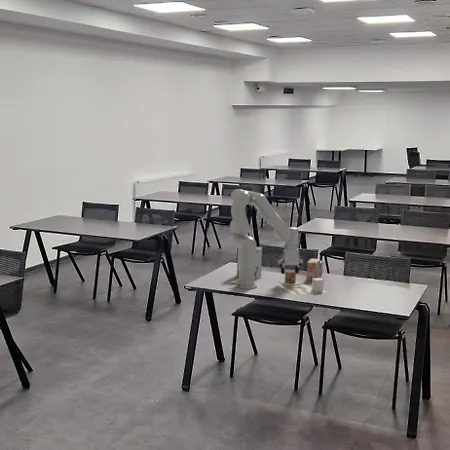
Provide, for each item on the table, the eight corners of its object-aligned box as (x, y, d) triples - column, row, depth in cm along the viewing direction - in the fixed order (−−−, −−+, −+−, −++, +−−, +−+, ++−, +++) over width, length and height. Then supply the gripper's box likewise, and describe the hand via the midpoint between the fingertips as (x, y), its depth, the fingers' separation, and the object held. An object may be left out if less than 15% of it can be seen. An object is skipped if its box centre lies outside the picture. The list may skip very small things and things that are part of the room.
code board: (294, 295, 363) (294, 294, 363) (280, 286, 382) (280, 286, 382) (327, 292, 371) (327, 292, 371) (311, 284, 389) (311, 283, 389)
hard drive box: (236, 277, 404) (236, 247, 401) (238, 274, 411) (239, 245, 408) (259, 279, 401) (260, 249, 397) (261, 276, 408) (262, 246, 405)
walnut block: (288, 283, 388) (288, 272, 387) (284, 281, 392) (285, 271, 391) (295, 283, 389) (295, 272, 388) (292, 281, 394) (292, 270, 393)
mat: (284, 285, 385) (284, 284, 385) (278, 282, 393) (278, 281, 393) (302, 284, 389) (302, 283, 389) (295, 280, 397) (295, 280, 397)
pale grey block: (315, 291, 371) (316, 280, 370) (311, 289, 376) (312, 278, 374) (323, 291, 373) (323, 279, 372) (319, 289, 377) (319, 277, 376)
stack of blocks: (313, 273, 419) (314, 255, 417) (322, 274, 417) (323, 256, 415) (306, 280, 399) (307, 261, 398) (315, 281, 397) (316, 262, 395)
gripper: (281, 248, 381) (279, 275, 383) (306, 247, 387) (304, 274, 389) (276, 246, 388) (274, 272, 390) (301, 245, 394) (299, 271, 396)
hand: (289, 273), depth 390 cm, fingers open, 9 cm apart
